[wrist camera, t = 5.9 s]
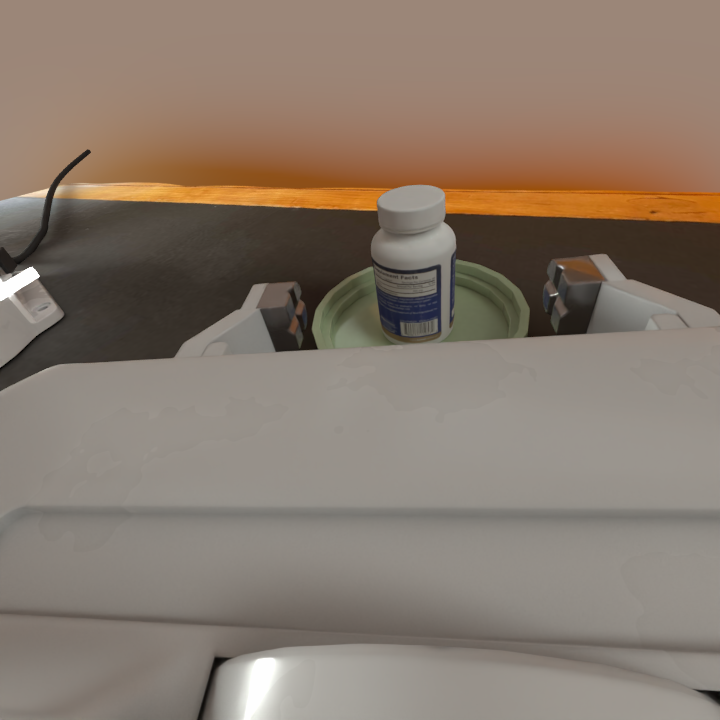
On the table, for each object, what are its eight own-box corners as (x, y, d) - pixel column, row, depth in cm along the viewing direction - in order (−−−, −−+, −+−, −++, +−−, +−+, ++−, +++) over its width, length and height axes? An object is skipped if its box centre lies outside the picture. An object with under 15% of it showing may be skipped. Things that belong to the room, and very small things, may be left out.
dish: (285, 329, 32) (278, 309, 31) (427, 260, 37) (426, 240, 36) (399, 450, 22) (397, 428, 21) (573, 332, 27) (579, 309, 26)
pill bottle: (411, 299, 32) (404, 175, 26) (468, 321, 29) (476, 187, 23) (366, 333, 30) (346, 205, 23) (423, 361, 27) (417, 223, 20)
